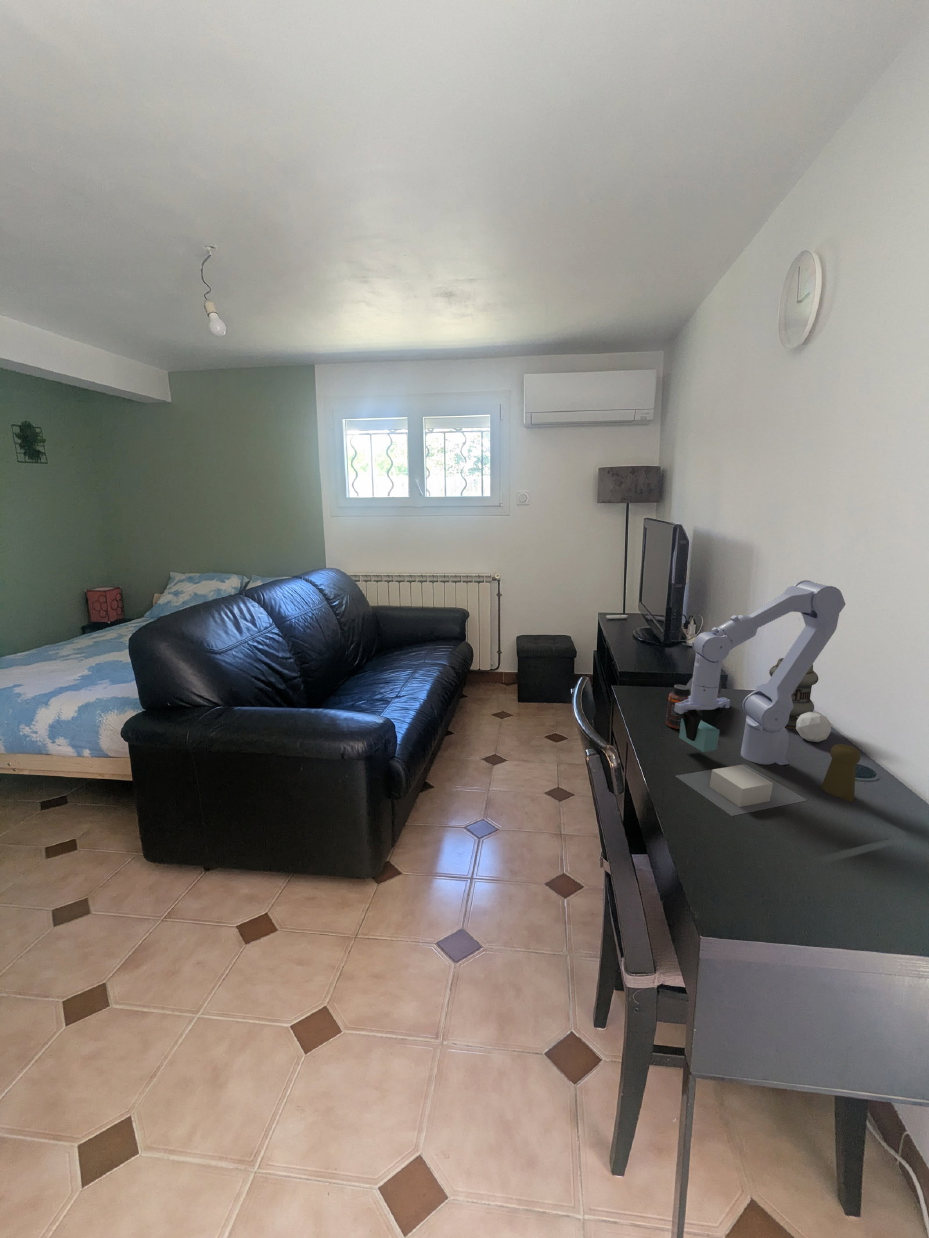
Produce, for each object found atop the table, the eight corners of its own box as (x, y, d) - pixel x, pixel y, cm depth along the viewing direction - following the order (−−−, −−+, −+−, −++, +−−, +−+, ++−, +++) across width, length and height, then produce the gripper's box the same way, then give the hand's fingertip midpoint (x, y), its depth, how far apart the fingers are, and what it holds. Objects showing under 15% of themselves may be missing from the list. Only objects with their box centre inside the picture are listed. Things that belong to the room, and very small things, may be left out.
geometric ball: (816, 749, 142) (842, 730, 139) (806, 746, 137) (833, 726, 134) (794, 726, 147) (819, 707, 144) (784, 722, 142) (809, 703, 139)
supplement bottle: (690, 731, 144) (695, 691, 142) (667, 728, 146) (672, 689, 143) (686, 722, 150) (691, 684, 148) (663, 720, 151) (668, 682, 149)
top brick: (692, 735, 133) (694, 716, 132) (716, 749, 125) (719, 730, 124) (679, 737, 131) (681, 718, 130) (703, 752, 124) (705, 732, 123)
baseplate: (744, 767, 125) (744, 764, 125) (806, 803, 111) (807, 800, 111) (674, 779, 119) (674, 775, 119) (731, 819, 104) (731, 815, 104)
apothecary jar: (752, 715, 157) (761, 656, 153) (783, 712, 160) (794, 654, 157) (787, 732, 146) (798, 669, 142) (820, 728, 149) (832, 666, 145)
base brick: (738, 781, 117) (741, 764, 116) (769, 800, 110) (773, 783, 109) (709, 786, 114) (712, 769, 114) (739, 807, 107) (742, 788, 106)
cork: (848, 790, 117) (858, 743, 114) (858, 804, 111) (869, 755, 109) (816, 784, 119) (825, 738, 116) (824, 798, 113) (834, 750, 111)
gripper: (716, 675, 131) (709, 727, 134) (668, 680, 126) (662, 734, 129) (740, 685, 125) (732, 739, 128) (689, 691, 120) (682, 747, 123)
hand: (698, 737), depth 128 cm, fingers closed on top brick, 4 cm apart
